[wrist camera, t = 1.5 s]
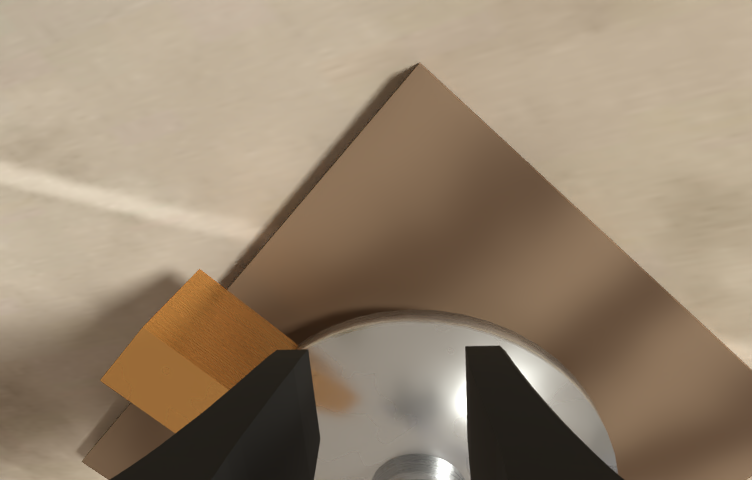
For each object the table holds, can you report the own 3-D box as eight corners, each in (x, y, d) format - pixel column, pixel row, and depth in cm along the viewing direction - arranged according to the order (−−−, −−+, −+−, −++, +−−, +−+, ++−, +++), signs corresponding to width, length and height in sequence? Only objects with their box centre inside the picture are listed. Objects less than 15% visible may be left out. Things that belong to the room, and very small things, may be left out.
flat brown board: (801, 415, 21) (837, 452, 19) (419, 666, 28) (419, 711, 26) (419, 62, 18) (418, 65, 16) (94, 445, 25) (67, 478, 23)
